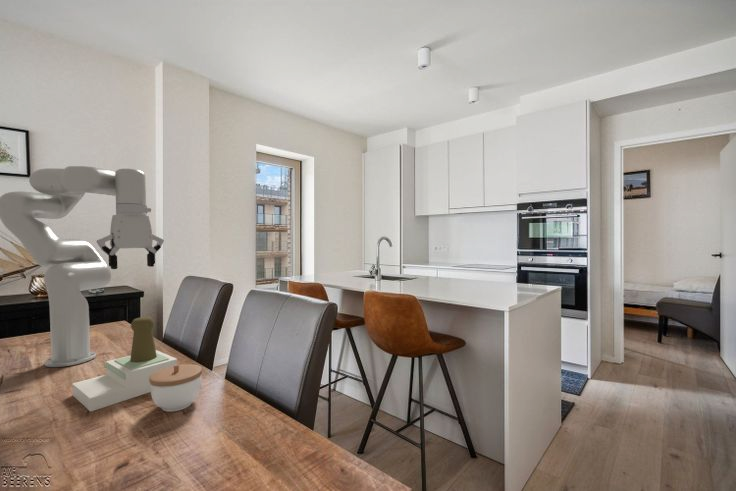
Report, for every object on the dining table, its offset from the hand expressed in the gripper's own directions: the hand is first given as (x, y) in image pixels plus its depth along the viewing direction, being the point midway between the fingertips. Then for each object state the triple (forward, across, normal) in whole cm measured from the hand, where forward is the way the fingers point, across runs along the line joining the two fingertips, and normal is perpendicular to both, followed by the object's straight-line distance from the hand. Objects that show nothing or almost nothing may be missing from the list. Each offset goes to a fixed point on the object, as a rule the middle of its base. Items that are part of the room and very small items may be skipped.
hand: (133, 267), depth 105 cm
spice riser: (+30, +7, +16) cm, 35 cm away
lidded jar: (+31, +4, +36) cm, 47 cm away
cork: (+24, +4, +16) cm, 29 cm away
